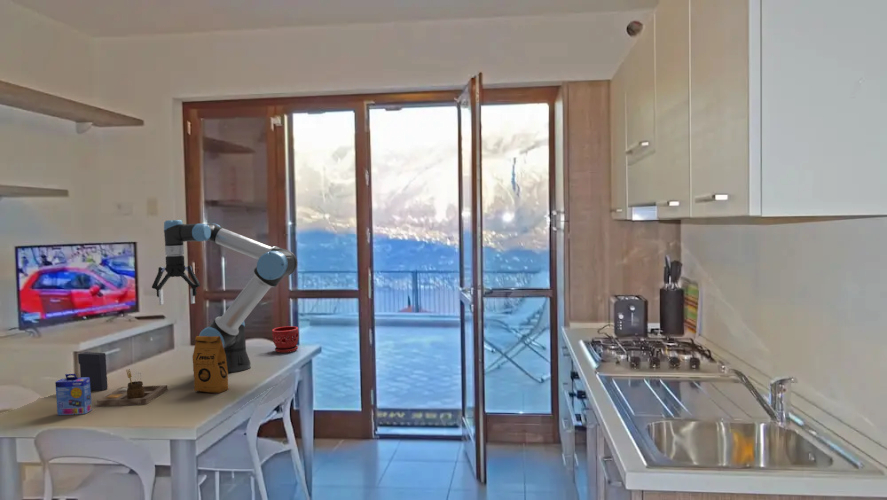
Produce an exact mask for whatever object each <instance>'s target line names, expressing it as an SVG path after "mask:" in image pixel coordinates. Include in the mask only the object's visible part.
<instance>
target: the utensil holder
mask: <svg viewBox="0 0 887 500" xmlns="http://www.w3.org/2000/svg"><path fill="white" fill-rule="evenodd" d="M125 372H126V375H127V378H129V382H128V383H127V387H129V388H128V389H127V399H136V398H143V397H144V387H143V386H144V384H143V381H142V380H137V379H136V378H134V381H132V372H131V369H130V368H129V369H126V371H125ZM138 375H139V377H140V378H142V374H141V372H136V373H135V376H138Z"/></svg>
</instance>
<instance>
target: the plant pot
mask: <svg viewBox="0 0 887 500" xmlns="http://www.w3.org/2000/svg"><path fill="white" fill-rule="evenodd" d="M271 334H272V340H273V344H274V346H275V348H274V350H275V352H277V353H278V354H279V353H281V354H287V353H293V352H295V351H297V350H298V349H299V346H298V345H297V344H298V342H299V336H300V335H299V327H298V326H291V325H289V326H288V325H287V326H280V327H279V326H277V327H275V328H272V331H271Z"/></svg>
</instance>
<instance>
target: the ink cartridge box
mask: <svg viewBox="0 0 887 500" xmlns="http://www.w3.org/2000/svg"><path fill="white" fill-rule="evenodd" d="M64 376H65V378H60V379H59V380H56V381H55V383H54V384H55V395H56V397H55V398H56V411H57V416H68V415H70V416H72V415H73V416H74V414H75V415H86V414H88V413H90V412H91V411H93V404H92V392H91V391H92V390H91V389H90V378H89V377H83V378H81V377H78V376H77V374H76V373H68V374H67V373H65V374H64Z"/></svg>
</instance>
